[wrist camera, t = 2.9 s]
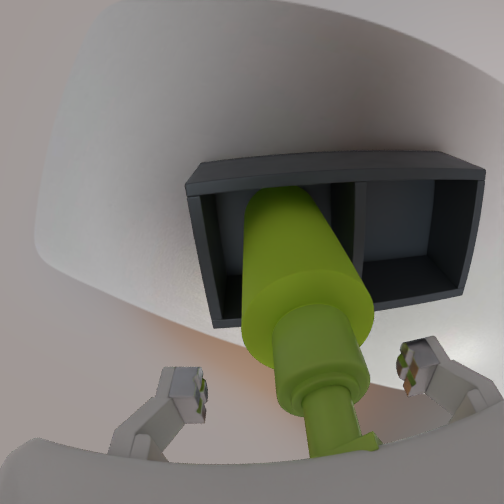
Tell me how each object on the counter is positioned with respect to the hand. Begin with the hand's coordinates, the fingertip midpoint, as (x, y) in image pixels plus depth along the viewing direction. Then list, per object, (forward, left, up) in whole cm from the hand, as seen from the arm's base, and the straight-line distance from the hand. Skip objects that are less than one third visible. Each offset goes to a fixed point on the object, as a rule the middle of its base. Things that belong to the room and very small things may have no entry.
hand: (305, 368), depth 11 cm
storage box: (0, +5, -15) cm, 16 cm away
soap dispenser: (0, 0, -15) cm, 15 cm away
